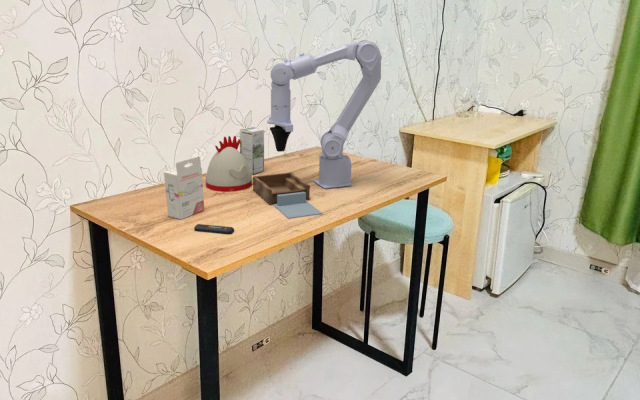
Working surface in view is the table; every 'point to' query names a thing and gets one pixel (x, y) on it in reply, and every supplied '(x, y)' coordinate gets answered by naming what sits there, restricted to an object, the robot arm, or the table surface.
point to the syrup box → (253, 148)
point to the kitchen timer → (228, 168)
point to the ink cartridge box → (184, 189)
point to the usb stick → (214, 229)
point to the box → (278, 186)
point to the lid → (295, 205)
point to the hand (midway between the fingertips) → (280, 151)
